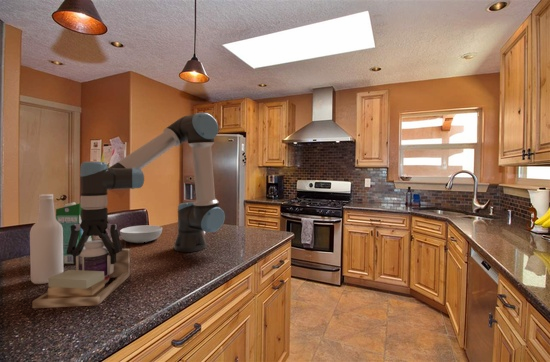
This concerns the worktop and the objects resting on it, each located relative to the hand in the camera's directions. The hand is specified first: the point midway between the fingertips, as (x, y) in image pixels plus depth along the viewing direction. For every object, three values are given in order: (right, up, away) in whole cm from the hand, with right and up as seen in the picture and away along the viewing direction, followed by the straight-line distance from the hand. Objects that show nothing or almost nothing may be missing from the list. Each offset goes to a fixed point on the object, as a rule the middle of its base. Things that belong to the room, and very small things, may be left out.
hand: (95, 273), depth 91 cm
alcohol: (-19, -3, +3) cm, 20 cm away
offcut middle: (+1, -2, -9) cm, 10 cm away
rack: (+1, -4, -4) cm, 6 cm away
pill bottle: (0, -4, 0) cm, 4 cm away
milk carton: (-24, -3, +24) cm, 34 cm away
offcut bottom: (+1, -4, -9) cm, 11 cm away
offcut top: (+1, +1, -10) cm, 10 cm away
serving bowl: (-12, -2, +57) cm, 58 cm away
